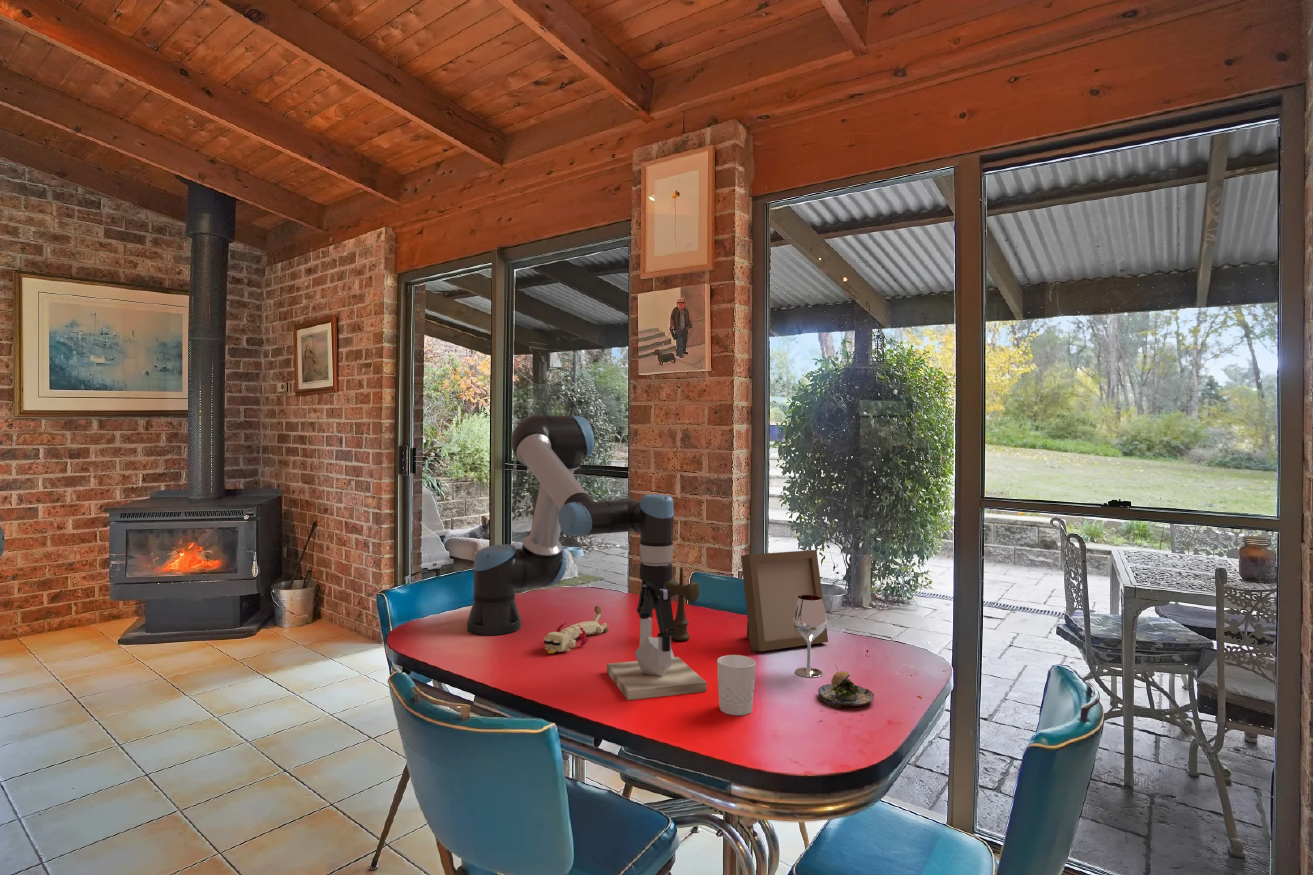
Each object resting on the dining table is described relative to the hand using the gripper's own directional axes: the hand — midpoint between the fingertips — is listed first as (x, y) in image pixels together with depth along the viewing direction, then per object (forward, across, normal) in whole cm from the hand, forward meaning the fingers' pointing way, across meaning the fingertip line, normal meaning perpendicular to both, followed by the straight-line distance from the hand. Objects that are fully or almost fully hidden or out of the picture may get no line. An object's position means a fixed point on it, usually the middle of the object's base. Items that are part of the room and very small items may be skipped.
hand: (654, 655), depth 159 cm
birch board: (+6, 0, 0) cm, 6 cm away
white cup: (+6, -20, -11) cm, 24 cm away
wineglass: (+6, -5, -37) cm, 38 cm away
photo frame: (+6, +19, -42) cm, 46 cm away
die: (+4, 0, 0) cm, 4 cm away
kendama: (+6, +29, -17) cm, 34 cm away
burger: (+6, -22, -36) cm, 43 cm away
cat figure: (+7, +34, +11) cm, 36 cm away
